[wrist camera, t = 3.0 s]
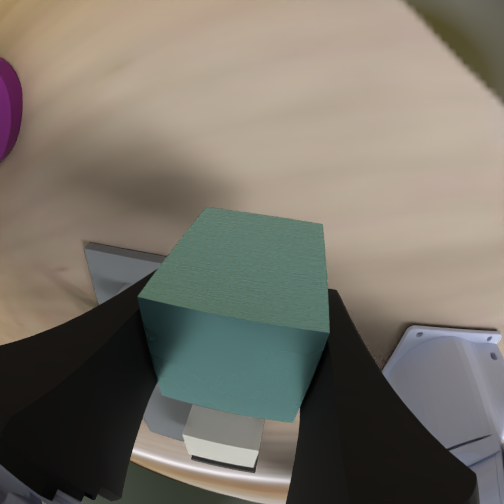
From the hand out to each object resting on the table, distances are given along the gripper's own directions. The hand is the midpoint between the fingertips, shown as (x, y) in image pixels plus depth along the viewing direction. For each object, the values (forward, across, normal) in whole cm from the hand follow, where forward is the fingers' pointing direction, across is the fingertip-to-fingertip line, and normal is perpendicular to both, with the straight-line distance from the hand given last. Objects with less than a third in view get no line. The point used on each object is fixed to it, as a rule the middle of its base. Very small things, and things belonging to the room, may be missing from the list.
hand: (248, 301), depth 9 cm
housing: (+6, +2, +23) cm, 24 cm away
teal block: (+2, 0, 0) cm, 2 cm away
